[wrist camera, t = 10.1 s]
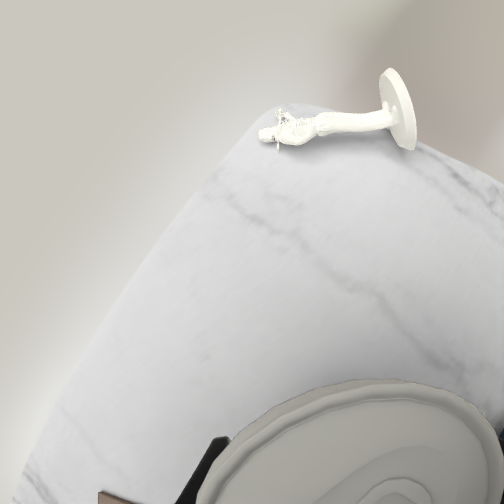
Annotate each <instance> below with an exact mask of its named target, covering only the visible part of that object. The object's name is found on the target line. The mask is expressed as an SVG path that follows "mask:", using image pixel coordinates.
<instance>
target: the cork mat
mask: <svg viewBox="0 0 504 504" xmlns="http://www.w3.org/2000/svg"><path fill="white" fill-rule="evenodd" d="M98 504H133V503H130V502H127V501H124V500H122V499H119V498H116V497H114V496H111V495H109V494H106V493H104V492H98Z"/></svg>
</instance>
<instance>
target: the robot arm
mask: <svg viewBox="0 0 504 504" xmlns="http://www.w3.org/2000/svg"><path fill="white" fill-rule="evenodd" d="M497 438H498V437H497ZM498 441H499V443H500V446H501V450H502V453H503V456H504V440H503V439H500V438H498ZM230 443H231V441H230V439H229V438H228V437H227V436H224V437H216V438H214V439H213V441H212V442H211V444H210V446H209V448H208V449H207V451H206V453H205V455H204V456H203V458H202V460H201V461H200V463H199V465H198V466H197V468H196V470H195V472H194V473H193V475H192V477H191V478H190V480H189V481H188V483H187V485H186V486H185V488H184V490H183V491H182V493H181V495H180V496H179V498H178V499H177V501H176V503H175V504H196V499H197V494H198V492H199V490H200V488H201V486H202V484H203V482H204V480H205V478H206V476H207V474H208V472H209V470H210V468H211V466H212V464H213V462H214V460H215V459H216V458H217V457H218V456H219V455H220V454H221V453H222V452H223V450H224V449H225V448H226V447H227V446H228V445H229V444H230ZM500 504H504V490H503V494H502V498H501V502H500Z"/></svg>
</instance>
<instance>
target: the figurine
mask: <svg viewBox="0 0 504 504" xmlns="http://www.w3.org/2000/svg"><path fill="white" fill-rule="evenodd" d="M379 87H380V96H381V101H382V110H380V111H374V112H370V113H366V114H354V113H340V112H322V113H320V114H318V115H317V116H316V117H312V118H308V119H307V118H305V119H304V118H303V119H301V118H300V119H299V118H298V120H297V119H296V118H294V117H293V116H292V115H291V114H290V113H288V112H286V113H284V112H282V111H283V110H284V109H282V108H279V109H278V110H276V111H275V116H276V118H279V125H278V126H274V127H267V128H263V129H262V130H258V138H259V140H260V141H262V142H266V143H269V142H275V141H277V150H278V153H279V142H282V143H284V144H291V145H302V144H304V143H306V142H307V141H309V140H310V139H311V138H313V137H314V136H316V135H319V136H326V135H328V134H331V133H335V132H366V131H374V130H380V129H384V128H388V127H389V129H390V131H391V134H392V136H393V138H394V140H395V141H396V143H397V144H398V145H399V146H400V147H402V148H404V149H407V150H409V151H413V150H414V149H415V146H416V141H417V128H416V119H415V114H414V110H413V106H412V102H411V99H410V96H409V93H408V91H407V88H406V86H405V85H404V82H403V80H402V79H401V78H400V76H399V74H398V73H397V72H396V71H395V70H394V69H392V68H388V69H387V70H386V71H385V72H384V73H383V74H382V75H381V76H380V80H379ZM277 114H278V115H277ZM283 117H285V118H286V119H285V122H284V121H283V120H282V124H281V118H283ZM287 120H288V121H287ZM274 138H275V140H274Z"/></svg>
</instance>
